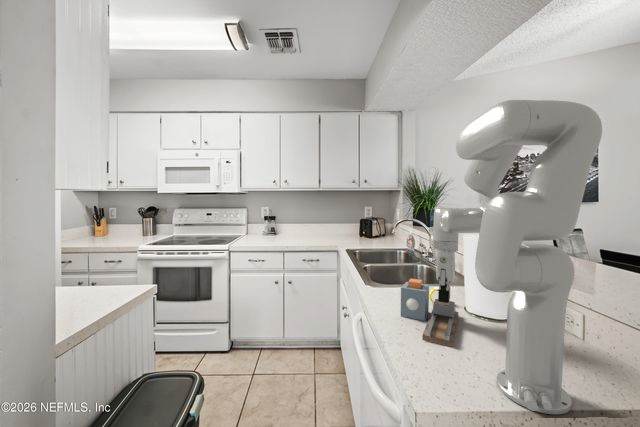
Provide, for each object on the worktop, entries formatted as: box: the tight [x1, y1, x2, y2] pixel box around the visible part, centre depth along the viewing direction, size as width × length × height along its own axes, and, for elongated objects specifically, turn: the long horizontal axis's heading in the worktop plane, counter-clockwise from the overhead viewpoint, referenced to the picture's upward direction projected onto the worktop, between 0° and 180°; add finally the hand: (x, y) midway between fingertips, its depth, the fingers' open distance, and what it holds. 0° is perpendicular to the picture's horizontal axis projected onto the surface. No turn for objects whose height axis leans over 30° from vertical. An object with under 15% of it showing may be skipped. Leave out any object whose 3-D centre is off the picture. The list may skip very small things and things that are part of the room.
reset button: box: [407, 278, 423, 289], centre depth 99 cm, size 4×4×3 cm
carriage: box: [432, 282, 456, 317], centre depth 94 cm, size 6×6×10 cm
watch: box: [429, 286, 439, 304], centre depth 110 cm, size 6×3×6 cm, turn 88°
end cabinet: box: [400, 281, 430, 321], centre depth 99 cm, size 8×8×10 cm
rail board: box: [422, 307, 459, 348], centre depth 90 cm, size 23×8×3 cm, turn 150°
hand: (444, 299), depth 94 cm, fingers closed on carriage, 3 cm apart
